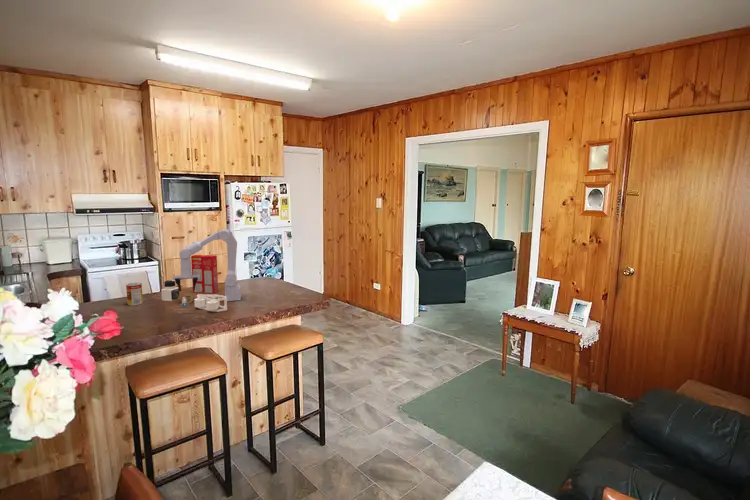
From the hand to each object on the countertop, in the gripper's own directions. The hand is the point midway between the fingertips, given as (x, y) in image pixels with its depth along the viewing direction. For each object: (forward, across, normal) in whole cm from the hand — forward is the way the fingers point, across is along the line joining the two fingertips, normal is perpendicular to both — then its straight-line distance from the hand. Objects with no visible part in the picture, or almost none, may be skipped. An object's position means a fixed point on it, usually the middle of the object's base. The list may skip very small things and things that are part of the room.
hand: (187, 290), depth 244 cm
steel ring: (+7, -9, +6) cm, 13 cm away
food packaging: (+7, -9, -21) cm, 24 cm away
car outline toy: (+7, -14, +20) cm, 25 cm away
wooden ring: (+7, 0, 0) cm, 7 cm away
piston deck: (+7, +1, +9) cm, 11 cm away
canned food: (+7, +29, -5) cm, 30 cm away
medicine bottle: (+7, +10, -9) cm, 15 cm away
